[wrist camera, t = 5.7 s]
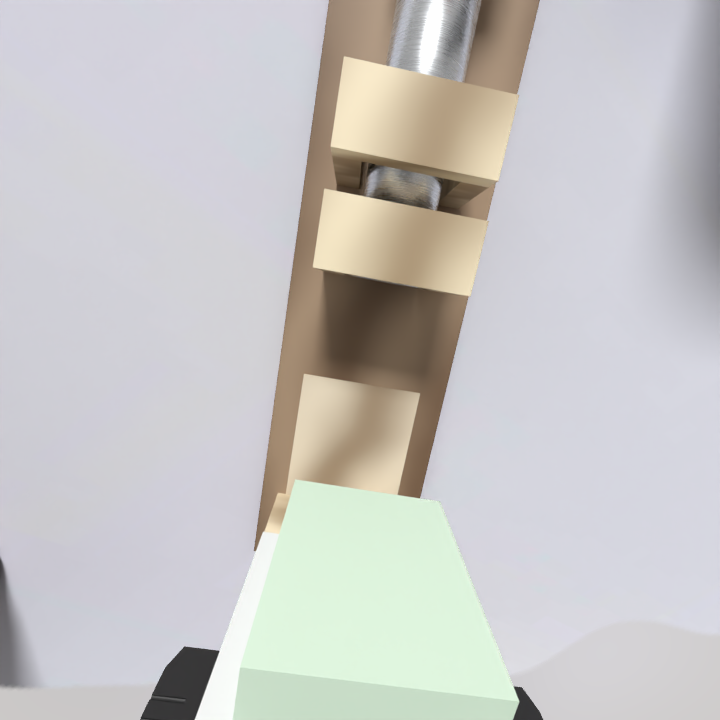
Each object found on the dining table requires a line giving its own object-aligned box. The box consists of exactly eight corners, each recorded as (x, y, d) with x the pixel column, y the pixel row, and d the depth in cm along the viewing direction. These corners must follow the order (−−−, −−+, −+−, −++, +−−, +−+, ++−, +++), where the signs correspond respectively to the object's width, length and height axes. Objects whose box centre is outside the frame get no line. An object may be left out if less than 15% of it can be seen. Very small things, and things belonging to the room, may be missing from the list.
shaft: (337, 273, 20) (332, 271, 15) (410, -178, 16) (437, -388, 11) (426, 290, 20) (450, 292, 15) (520, -149, 16) (595, -341, 11)
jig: (256, 545, 24) (209, 672, 16) (358, -201, 16) (364, -664, 8) (401, 565, 25) (423, 697, 17) (571, -145, 17) (766, -526, 9)
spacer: (272, 624, 13) (207, 896, 7) (295, 479, 12) (239, 667, 6) (404, 641, 14) (443, 916, 8) (439, 501, 12) (519, 701, 6)
